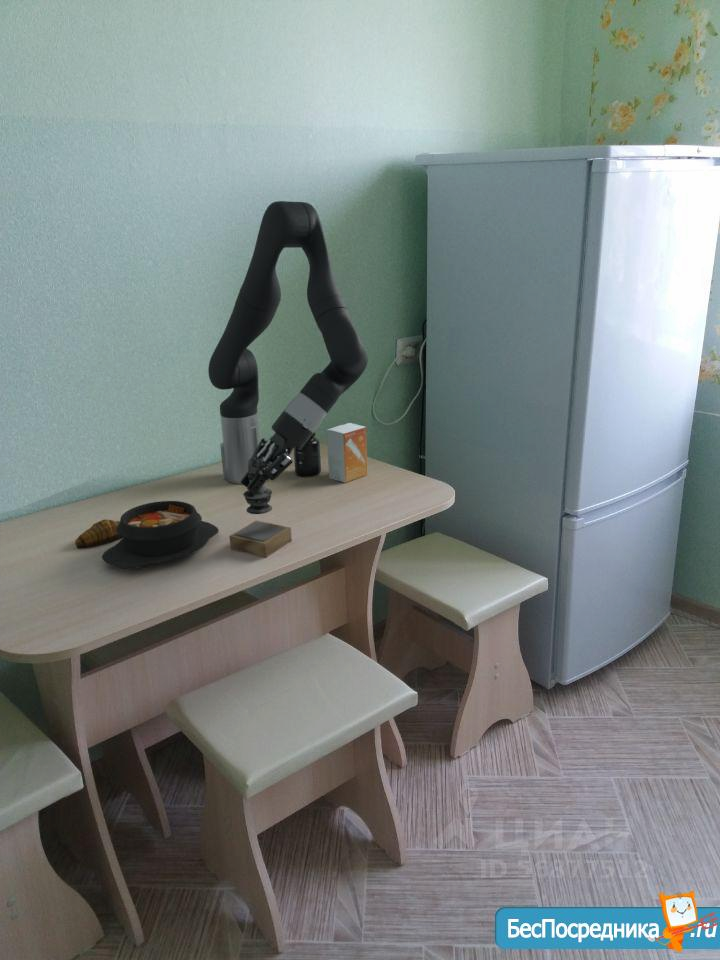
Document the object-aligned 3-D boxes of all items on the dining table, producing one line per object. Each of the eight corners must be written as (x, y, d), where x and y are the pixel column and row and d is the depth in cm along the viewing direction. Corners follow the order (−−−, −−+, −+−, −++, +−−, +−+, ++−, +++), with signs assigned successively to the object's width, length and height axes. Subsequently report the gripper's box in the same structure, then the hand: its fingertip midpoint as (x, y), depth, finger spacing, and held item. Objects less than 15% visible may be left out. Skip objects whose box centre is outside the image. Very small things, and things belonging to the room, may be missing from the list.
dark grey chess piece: (276, 503, 163) (271, 448, 159) (270, 514, 158) (265, 457, 154) (248, 504, 164) (243, 449, 160) (241, 514, 158) (235, 458, 154)
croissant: (83, 555, 163) (79, 533, 161) (70, 545, 168) (66, 523, 166) (143, 536, 171) (140, 514, 169) (129, 527, 176) (126, 506, 174)
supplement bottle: (289, 474, 205) (286, 430, 201) (307, 467, 210) (305, 423, 206) (308, 479, 201) (305, 434, 196) (326, 472, 205) (324, 427, 201)
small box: (345, 483, 197) (343, 433, 192) (328, 478, 201) (325, 429, 197) (368, 475, 202) (366, 426, 198) (351, 470, 206) (349, 422, 202)
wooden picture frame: (230, 549, 162) (229, 535, 161) (257, 533, 169) (255, 519, 168) (266, 557, 158) (264, 542, 156) (291, 540, 165) (290, 526, 164)
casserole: (182, 521, 177) (178, 486, 174) (238, 541, 166) (235, 504, 163) (84, 561, 159) (78, 523, 156) (139, 586, 148) (133, 545, 145)
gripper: (274, 402, 163) (223, 468, 162) (298, 417, 151) (243, 489, 150) (300, 423, 167) (250, 487, 166) (325, 439, 155) (272, 509, 154)
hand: (247, 488), depth 158 cm, fingers closed on dark grey chess piece, 3 cm apart
